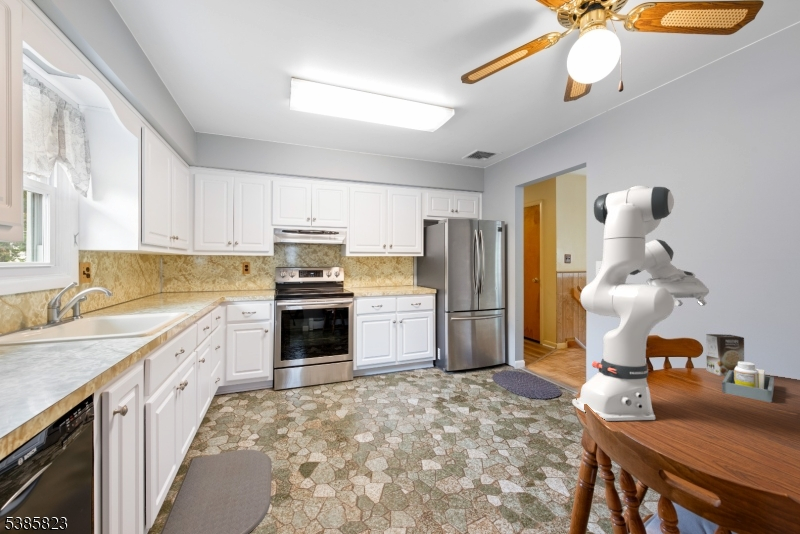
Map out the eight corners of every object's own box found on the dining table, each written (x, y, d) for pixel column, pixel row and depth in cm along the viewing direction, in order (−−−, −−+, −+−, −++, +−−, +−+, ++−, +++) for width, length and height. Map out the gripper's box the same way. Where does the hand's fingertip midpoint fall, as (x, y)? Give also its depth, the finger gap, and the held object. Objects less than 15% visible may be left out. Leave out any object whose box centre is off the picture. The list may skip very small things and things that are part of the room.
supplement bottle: (746, 390, 111) (745, 360, 111) (764, 396, 106) (763, 365, 106) (730, 390, 111) (729, 360, 111) (747, 396, 106) (746, 365, 106)
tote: (771, 405, 101) (771, 391, 101) (722, 395, 110) (722, 382, 110) (773, 389, 114) (773, 377, 114) (729, 381, 122) (729, 369, 122)
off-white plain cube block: (763, 391, 110) (763, 374, 110) (734, 386, 115) (734, 369, 115) (765, 387, 114) (764, 370, 114) (736, 381, 119) (736, 365, 119)
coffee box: (719, 378, 126) (718, 337, 127) (705, 372, 133) (705, 333, 133) (745, 378, 126) (744, 337, 126) (730, 373, 132) (729, 334, 132)
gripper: (648, 273, 130) (670, 300, 120) (697, 272, 131) (723, 299, 121) (640, 284, 134) (660, 310, 124) (687, 283, 135) (711, 309, 125)
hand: (691, 304), depth 123 cm, fingers open, 8 cm apart
